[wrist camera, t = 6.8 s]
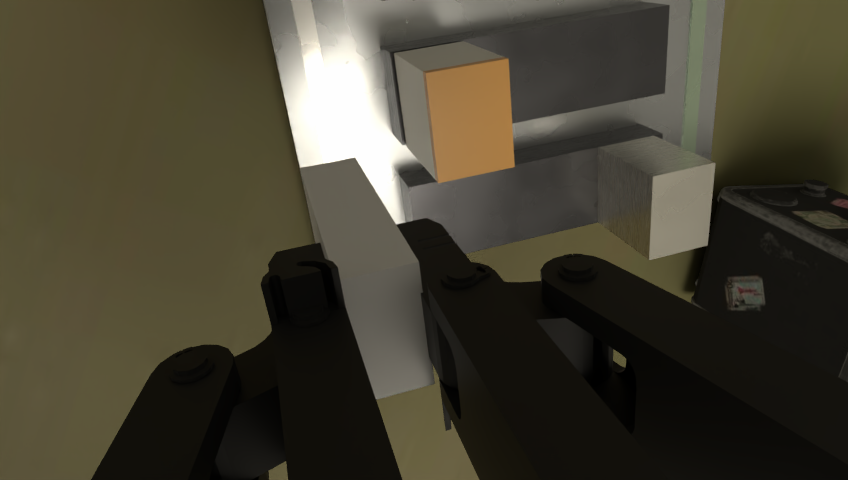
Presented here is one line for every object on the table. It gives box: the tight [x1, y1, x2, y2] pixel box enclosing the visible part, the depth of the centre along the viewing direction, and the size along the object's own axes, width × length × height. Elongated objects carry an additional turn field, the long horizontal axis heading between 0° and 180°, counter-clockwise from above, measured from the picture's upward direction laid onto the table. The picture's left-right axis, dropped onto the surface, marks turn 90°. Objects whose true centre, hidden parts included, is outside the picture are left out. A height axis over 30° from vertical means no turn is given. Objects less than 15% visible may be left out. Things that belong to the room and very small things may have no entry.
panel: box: [262, 0, 725, 260], centre depth 28 cm, size 22×18×8 cm
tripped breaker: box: [394, 41, 515, 183], centre depth 24 cm, size 3×4×5 cm
